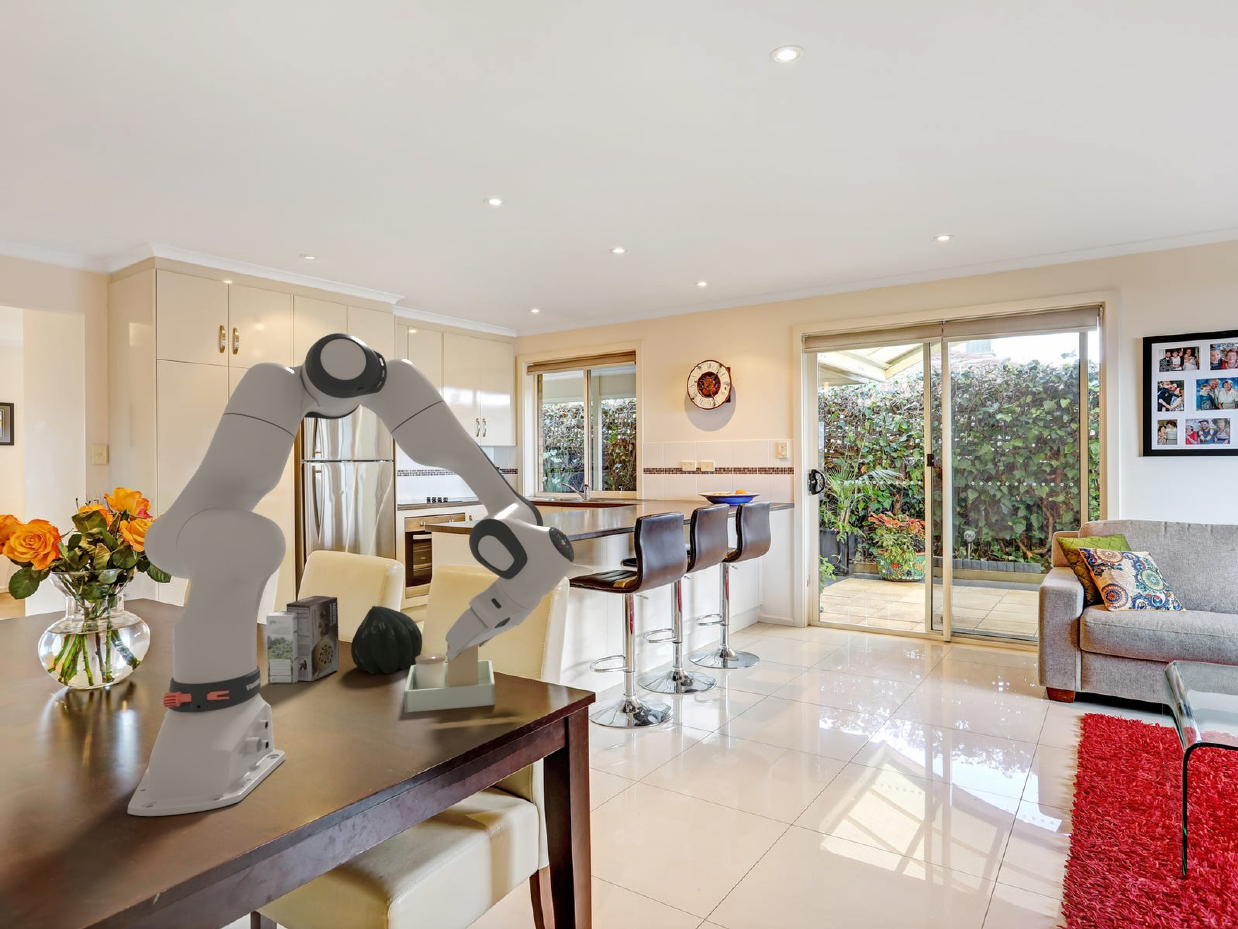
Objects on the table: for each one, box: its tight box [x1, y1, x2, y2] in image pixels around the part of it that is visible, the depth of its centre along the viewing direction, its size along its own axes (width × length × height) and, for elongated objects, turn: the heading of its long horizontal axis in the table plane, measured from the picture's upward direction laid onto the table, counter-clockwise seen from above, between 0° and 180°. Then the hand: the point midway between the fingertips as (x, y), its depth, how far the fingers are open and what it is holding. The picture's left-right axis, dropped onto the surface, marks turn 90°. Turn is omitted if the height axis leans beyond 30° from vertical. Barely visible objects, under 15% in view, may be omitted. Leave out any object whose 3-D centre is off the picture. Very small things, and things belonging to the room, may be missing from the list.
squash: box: [350, 605, 423, 675], centre depth 158 cm, size 14×15×15 cm
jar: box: [415, 652, 447, 690], centre depth 143 cm, size 6×6×6 cm
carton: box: [446, 626, 479, 687], centre depth 136 cm, size 6×6×13 cm
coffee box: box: [286, 595, 340, 682], centre depth 155 cm, size 9×6×16 cm
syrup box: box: [265, 609, 299, 685], centre depth 152 cm, size 6×6×14 cm
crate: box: [403, 659, 496, 713], centre depth 139 cm, size 17×16×4 cm
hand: (464, 650), depth 136 cm, fingers open, 8 cm apart
